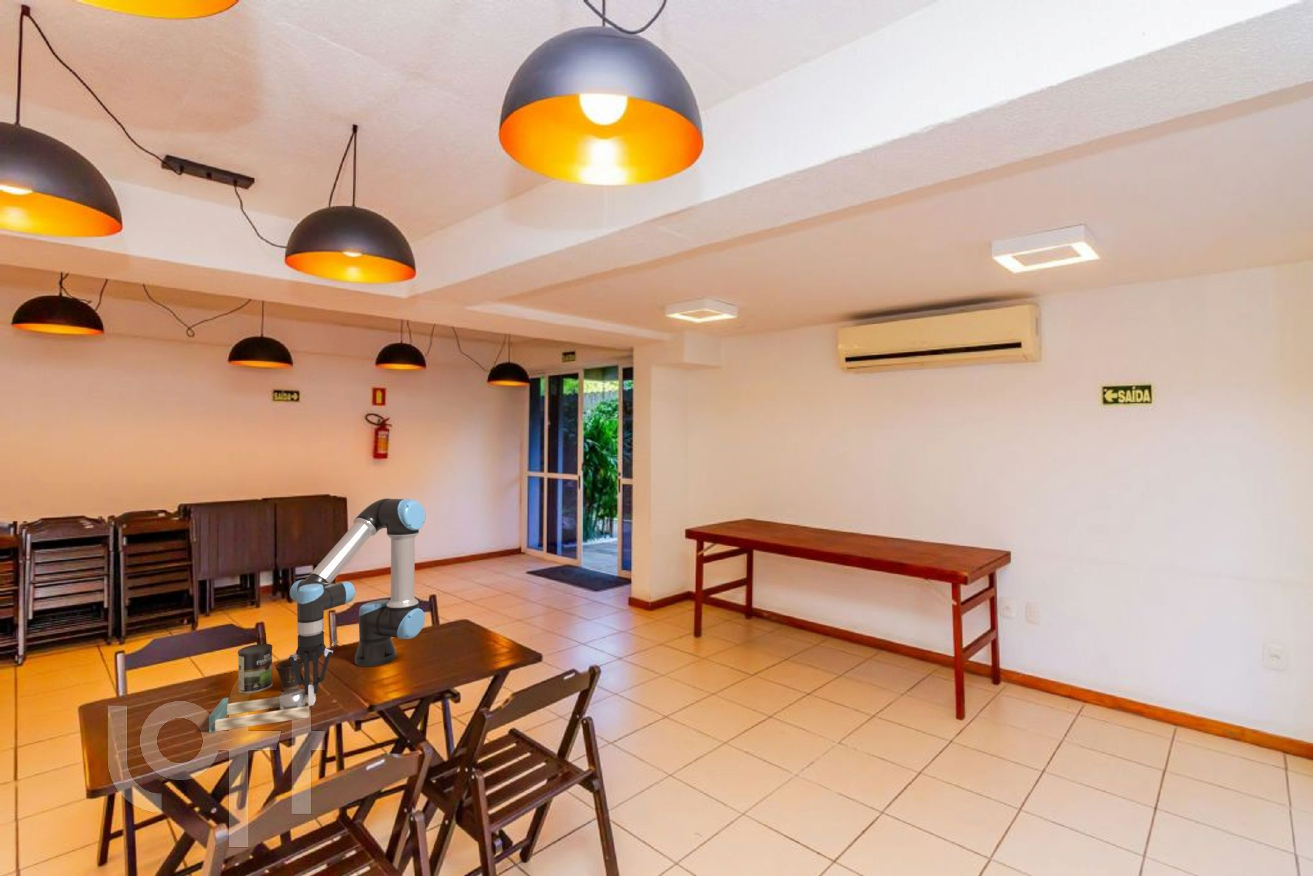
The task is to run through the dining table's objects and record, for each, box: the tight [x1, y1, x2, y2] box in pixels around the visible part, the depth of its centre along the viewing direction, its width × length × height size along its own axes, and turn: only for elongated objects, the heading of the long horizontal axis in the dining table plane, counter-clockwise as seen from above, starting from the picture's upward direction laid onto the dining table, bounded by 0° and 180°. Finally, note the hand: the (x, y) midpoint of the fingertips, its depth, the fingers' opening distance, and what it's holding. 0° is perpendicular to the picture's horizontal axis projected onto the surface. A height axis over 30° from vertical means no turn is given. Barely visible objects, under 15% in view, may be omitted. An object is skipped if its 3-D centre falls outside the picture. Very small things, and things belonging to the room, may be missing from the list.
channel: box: [208, 694, 317, 733], centre depth 193 cm, size 26×13×5 cm, turn 111°
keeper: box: [279, 688, 306, 710], centre depth 195 cm, size 7×7×6 cm
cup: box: [274, 658, 304, 692], centre depth 212 cm, size 9×9×10 cm
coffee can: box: [237, 643, 274, 695], centre depth 214 cm, size 10×10×14 cm
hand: (311, 703), depth 197 cm, fingers closed
